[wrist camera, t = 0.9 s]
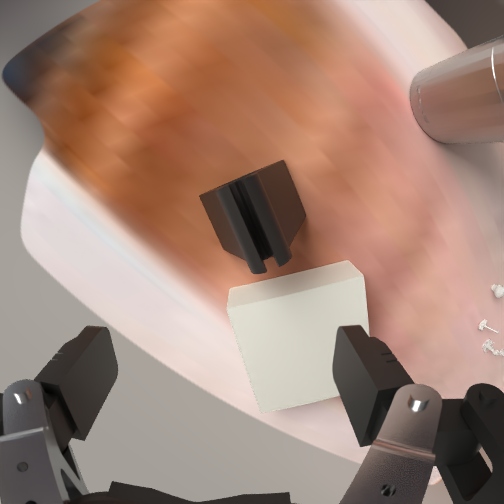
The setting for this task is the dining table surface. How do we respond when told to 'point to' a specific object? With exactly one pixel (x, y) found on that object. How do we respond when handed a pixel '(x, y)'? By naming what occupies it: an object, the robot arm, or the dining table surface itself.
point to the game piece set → (498, 292)
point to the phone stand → (257, 215)
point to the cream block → (295, 331)
